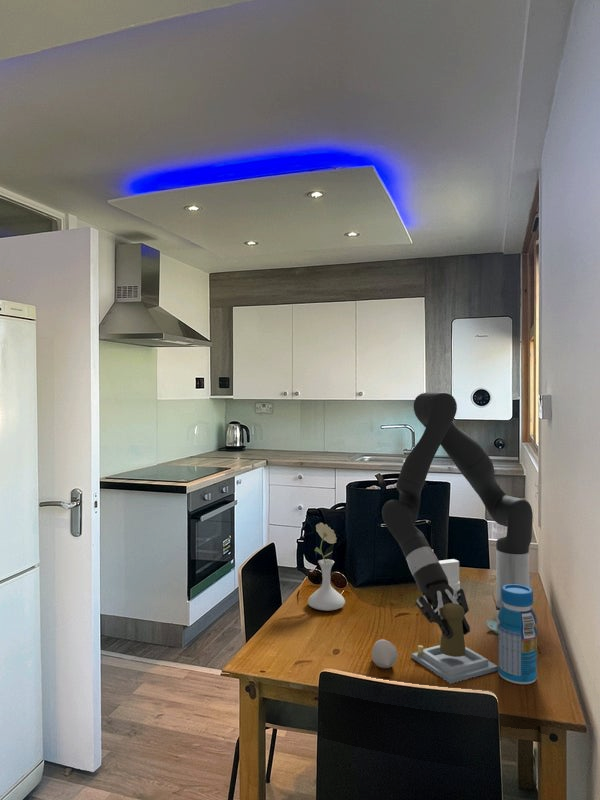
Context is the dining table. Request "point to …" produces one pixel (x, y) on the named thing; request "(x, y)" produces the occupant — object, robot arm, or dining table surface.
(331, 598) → the flower in vase
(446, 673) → the board
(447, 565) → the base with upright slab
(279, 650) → the dining table surface
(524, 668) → the beverage bottle
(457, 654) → the cork
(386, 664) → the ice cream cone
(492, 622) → the pacifier
